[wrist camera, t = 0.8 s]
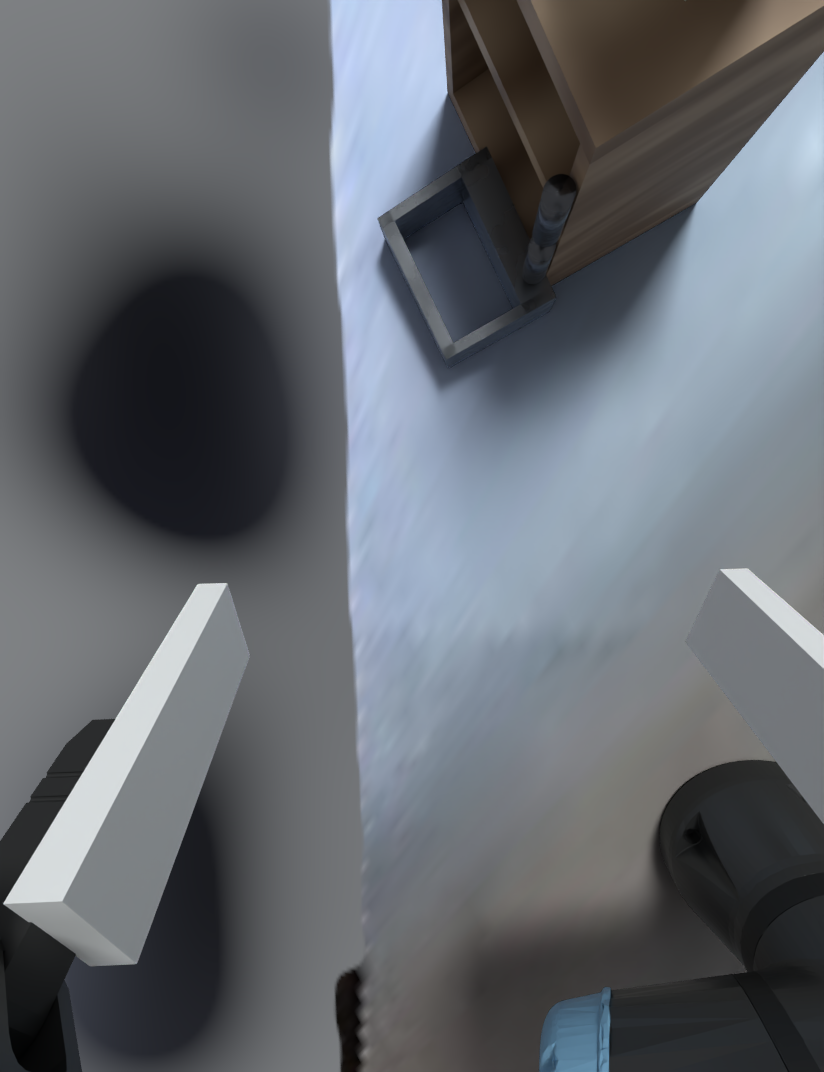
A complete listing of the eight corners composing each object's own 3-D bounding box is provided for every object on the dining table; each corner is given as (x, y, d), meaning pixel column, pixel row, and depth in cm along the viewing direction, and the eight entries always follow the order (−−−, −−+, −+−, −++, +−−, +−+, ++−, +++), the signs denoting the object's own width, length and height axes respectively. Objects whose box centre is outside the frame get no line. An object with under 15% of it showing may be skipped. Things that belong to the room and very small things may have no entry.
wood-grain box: (697, 202, 31) (903, -45, 16) (540, 292, 33) (596, 147, 18) (603, -17, 30) (733, -498, 15) (447, 92, 32) (427, -233, 17)
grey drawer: (549, 311, 33) (594, 219, 21) (448, 368, 35) (435, 313, 23) (485, 173, 32) (494, -4, 20) (384, 238, 34) (337, 110, 22)
